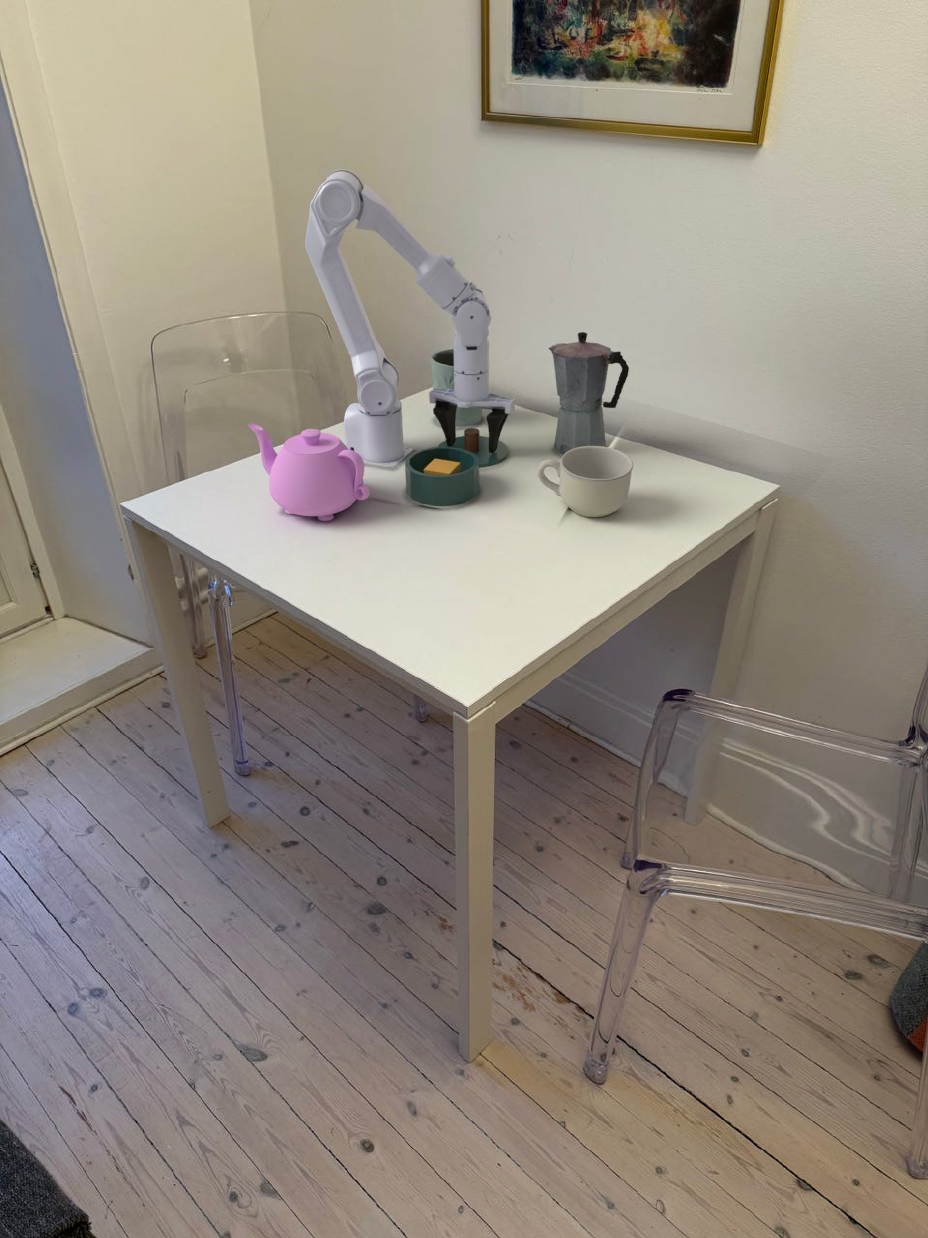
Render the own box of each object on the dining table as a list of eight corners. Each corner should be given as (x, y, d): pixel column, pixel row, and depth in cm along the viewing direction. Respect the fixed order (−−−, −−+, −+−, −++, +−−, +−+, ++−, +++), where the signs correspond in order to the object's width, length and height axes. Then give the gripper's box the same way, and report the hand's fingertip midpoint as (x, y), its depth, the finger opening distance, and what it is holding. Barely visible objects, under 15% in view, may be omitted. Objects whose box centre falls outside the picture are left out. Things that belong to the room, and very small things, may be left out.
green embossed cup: (436, 409, 170) (434, 347, 163) (488, 411, 169) (489, 348, 162) (429, 430, 161) (427, 365, 155) (484, 431, 161) (484, 366, 154)
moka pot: (557, 431, 160) (563, 319, 149) (634, 450, 153) (647, 334, 142) (529, 448, 154) (533, 333, 143) (608, 470, 146) (619, 349, 135)
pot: (394, 502, 138) (392, 470, 135) (424, 472, 146) (423, 442, 143) (462, 514, 134) (462, 481, 131) (489, 483, 143) (489, 452, 140)
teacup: (634, 498, 138) (639, 450, 133) (621, 530, 129) (626, 479, 125) (547, 486, 142) (549, 439, 137) (529, 516, 133) (530, 467, 129)
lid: (424, 464, 149) (423, 439, 147) (452, 437, 159) (452, 413, 156) (493, 475, 145) (493, 449, 143) (517, 447, 155) (518, 422, 152)
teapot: (233, 513, 135) (220, 438, 128) (284, 476, 146) (275, 405, 139) (347, 537, 128) (340, 459, 122) (392, 496, 139) (388, 423, 132)
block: (424, 493, 139) (423, 469, 137) (435, 482, 142) (434, 458, 140) (450, 498, 138) (449, 473, 135) (460, 486, 141) (460, 462, 139)
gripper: (420, 371, 143) (423, 450, 150) (505, 382, 138) (503, 462, 146) (437, 358, 148) (440, 435, 156) (519, 368, 143) (518, 446, 151)
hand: (472, 447), depth 151 cm, fingers open, 7 cm apart
